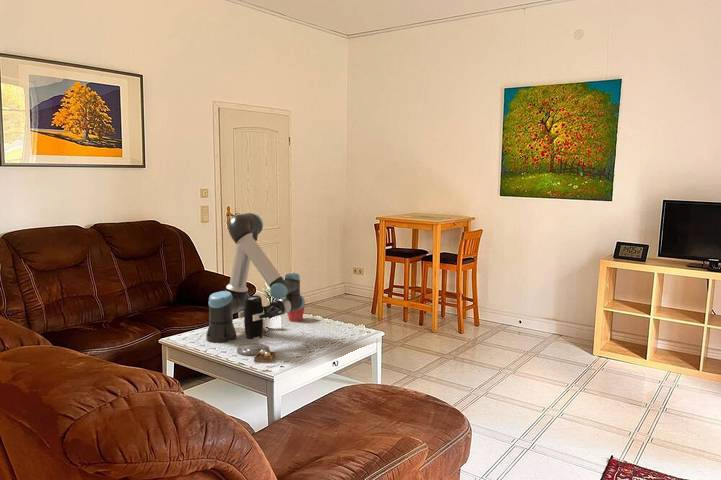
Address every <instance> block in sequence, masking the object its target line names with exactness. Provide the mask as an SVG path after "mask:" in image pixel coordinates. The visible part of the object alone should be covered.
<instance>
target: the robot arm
mask: <svg viewBox="0 0 721 480" xmlns="http://www.w3.org/2000/svg"><path fill="white" fill-rule="evenodd" d="M263 229H264V221H263V219H262V218H261V217H260V216H259V215H258V214H257V213H253V212H247V213H242V214H241V213H239V214H235V215H234V216H231V218H230V219H229V220H228V224H227V230H228V233H229V236H230V237H231V239H232V240H233V242H234V243H235V251H234V257H233V262H232V267H231V268H232V269H231V274H230V280H229V283H228V284H227V285H226V286H225V289H224V290H222V291H221V290H220V291H217V292H213V293H211V294H210V295H209V297H208V319H209V320H208V321H209V325H208V327H207V331H206V334H205V340H207V341H208V342H212V343H226V342H231V341H234V340H236V339H237V331H236V328H235V325H234V322H233V319H234V317H233V315H234V314H236V313H237V315H238V319H241V318H244V304H245V300H244V299H245V297H250V294H249V288H248V287H247V283H248V282H247V281H248V276H249V270H250V267H251V266H250V264H251V263H252V265H253V266H254V267H255V268H256V269H257V272H259V275H261V277H262V278H263V279H264V280H265V281H266V283H267V284H268V286H269V287H270V288H269V289H270V290H269V291H270V295H271V297H273V298H274V299H277V300H274V301H273V300H272V301H271V302H270V303H269V305H263V304H262V309H263V313H260V314H255V315H253V321H256V320H260V319H263V318H269V319H270V318H272V317H275V316H276V317H279V316H282V315H284V316H285V315H286V314H287V313H289V312H292V311H297V310H299V309H301V308H303V307H304V308H305V306H304V304H305V305H306V301H305V297H304V296H303V295H301V278H300V277H301V276H300V274H299V273H296V272H291V273H286V274H285V276H284V278H283V276H282V275H281V274H280V272H279V271H278V270H277V268H276V267H275V266H274V264H273V263H272V261H271V260H270V259H269V258H268V256H267V255H266V253H265V252H264V250H263V249H262V247H260V245H259V244H258V237H259V234H260V233H261V232H262V231H263Z"/></svg>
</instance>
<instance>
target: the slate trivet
mask: <svg viewBox="0 0 721 480" xmlns="http://www.w3.org/2000/svg"><path fill="white" fill-rule="evenodd" d="M262 349H264V350H266V352H270V351H269V350H270V348H269V346H268V345H266V344H261V343H260V344H259V343H250V344H245V345H241V346H238V347H237V348H236V353H237V354H238V355H239V356H244V357H254V356H255V355H256V354H257V353H258V352H259V351H261V350H262Z"/></svg>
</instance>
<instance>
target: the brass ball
mask: <svg viewBox="0 0 721 480" xmlns="http://www.w3.org/2000/svg"><path fill="white" fill-rule="evenodd" d="M270 352H271V351H268V352H265V353H264V357H270V356H271V354H270Z"/></svg>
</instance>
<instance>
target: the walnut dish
mask: <svg viewBox="0 0 721 480" xmlns="http://www.w3.org/2000/svg"><path fill="white" fill-rule="evenodd" d="M269 352H270V354H271V356H270V357H264V356H261V355H260V351H259V352H258V353H257V354H256V355H255V356H253V362H255V363H273V361H274V360H275V358H276V357H277V352H276V351H269Z"/></svg>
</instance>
